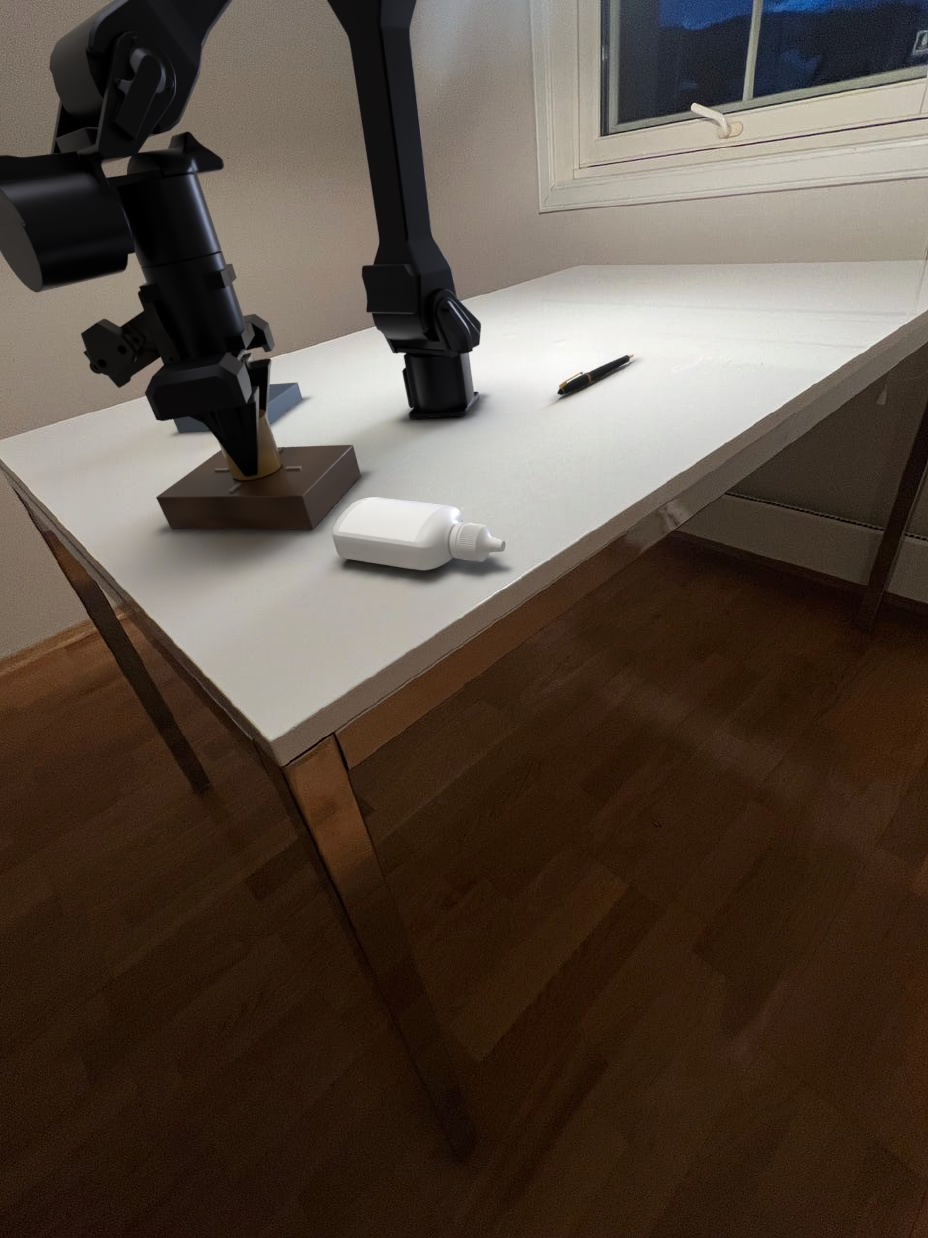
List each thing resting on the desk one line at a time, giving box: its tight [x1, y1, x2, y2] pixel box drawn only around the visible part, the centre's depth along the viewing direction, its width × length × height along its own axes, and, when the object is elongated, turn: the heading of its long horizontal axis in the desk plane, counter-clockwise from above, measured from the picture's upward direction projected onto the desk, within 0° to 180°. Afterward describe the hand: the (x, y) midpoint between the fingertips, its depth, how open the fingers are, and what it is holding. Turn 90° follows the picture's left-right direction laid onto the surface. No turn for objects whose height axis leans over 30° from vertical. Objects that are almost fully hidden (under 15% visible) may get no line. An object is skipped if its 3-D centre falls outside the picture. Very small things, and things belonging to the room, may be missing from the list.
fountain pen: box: [557, 353, 635, 396], centre depth 70 cm, size 14×1×2 cm, turn 134°
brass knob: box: [217, 409, 282, 480], centre depth 53 cm, size 4×4×5 cm
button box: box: [172, 382, 303, 434], centre depth 77 cm, size 12×10×4 cm
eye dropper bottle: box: [331, 496, 506, 571], centre depth 43 cm, size 4×6×12 cm
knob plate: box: [155, 444, 362, 530], centre depth 55 cm, size 14×10×3 cm
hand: (255, 464), depth 54 cm, fingers closed on brass knob, 4 cm apart
